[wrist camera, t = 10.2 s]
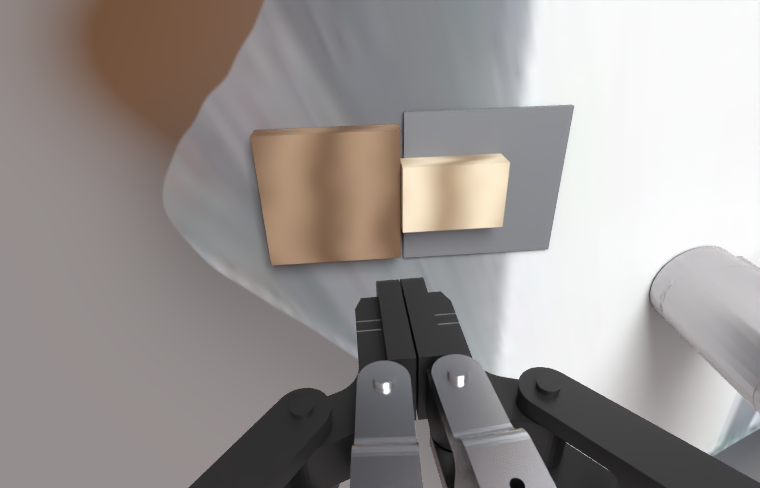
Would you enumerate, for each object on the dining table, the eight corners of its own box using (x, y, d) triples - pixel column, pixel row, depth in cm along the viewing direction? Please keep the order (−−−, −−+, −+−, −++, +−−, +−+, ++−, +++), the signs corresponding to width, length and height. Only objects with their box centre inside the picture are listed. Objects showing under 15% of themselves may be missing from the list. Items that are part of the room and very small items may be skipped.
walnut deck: (397, 124, 38) (400, 130, 36) (398, 247, 44) (400, 257, 42) (254, 130, 38) (250, 136, 36) (274, 254, 43) (271, 265, 42)
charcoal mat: (572, 104, 39) (574, 105, 38) (546, 247, 45) (548, 249, 45) (403, 111, 38) (404, 112, 37) (403, 255, 45) (403, 257, 44)
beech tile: (500, 153, 40) (510, 162, 38) (494, 215, 43) (502, 226, 41) (399, 158, 39) (402, 168, 37) (399, 220, 42) (402, 232, 40)
